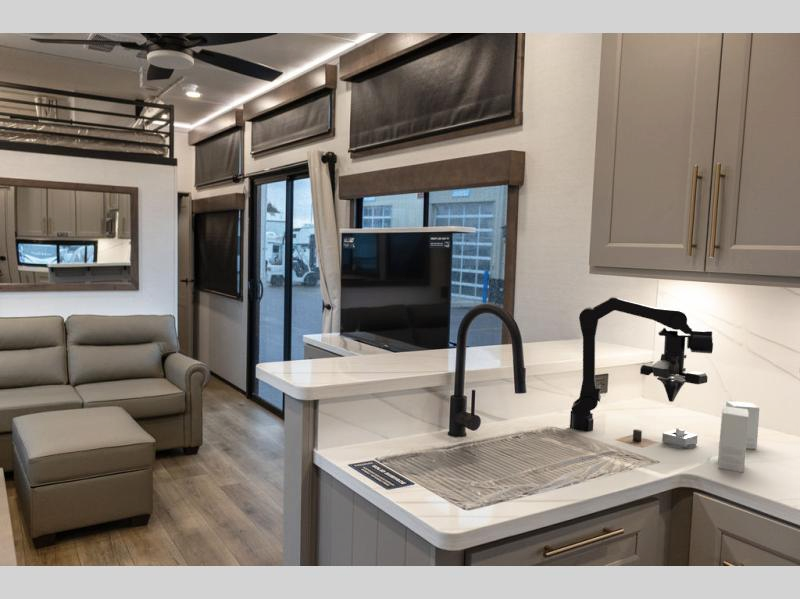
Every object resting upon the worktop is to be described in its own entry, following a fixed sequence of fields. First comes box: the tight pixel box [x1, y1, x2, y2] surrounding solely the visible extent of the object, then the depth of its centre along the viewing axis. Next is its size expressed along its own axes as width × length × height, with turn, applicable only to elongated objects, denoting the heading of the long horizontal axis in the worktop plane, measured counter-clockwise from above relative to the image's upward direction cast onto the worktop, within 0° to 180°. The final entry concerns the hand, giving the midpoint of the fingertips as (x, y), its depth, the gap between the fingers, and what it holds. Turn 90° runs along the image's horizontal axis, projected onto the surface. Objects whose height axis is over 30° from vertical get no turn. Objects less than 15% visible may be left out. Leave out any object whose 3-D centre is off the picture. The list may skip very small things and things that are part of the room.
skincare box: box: [717, 405, 749, 473], centre depth 172 cm, size 8×7×16 cm
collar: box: [661, 429, 698, 448], centre depth 188 cm, size 7×7×3 cm
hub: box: [662, 427, 697, 450], centre depth 188 cm, size 9×9×6 cm
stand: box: [615, 429, 660, 448], centre depth 190 cm, size 9×9×4 cm
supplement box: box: [725, 400, 760, 450], centre depth 192 cm, size 7×7×13 cm
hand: (671, 401), depth 193 cm, fingers closed
